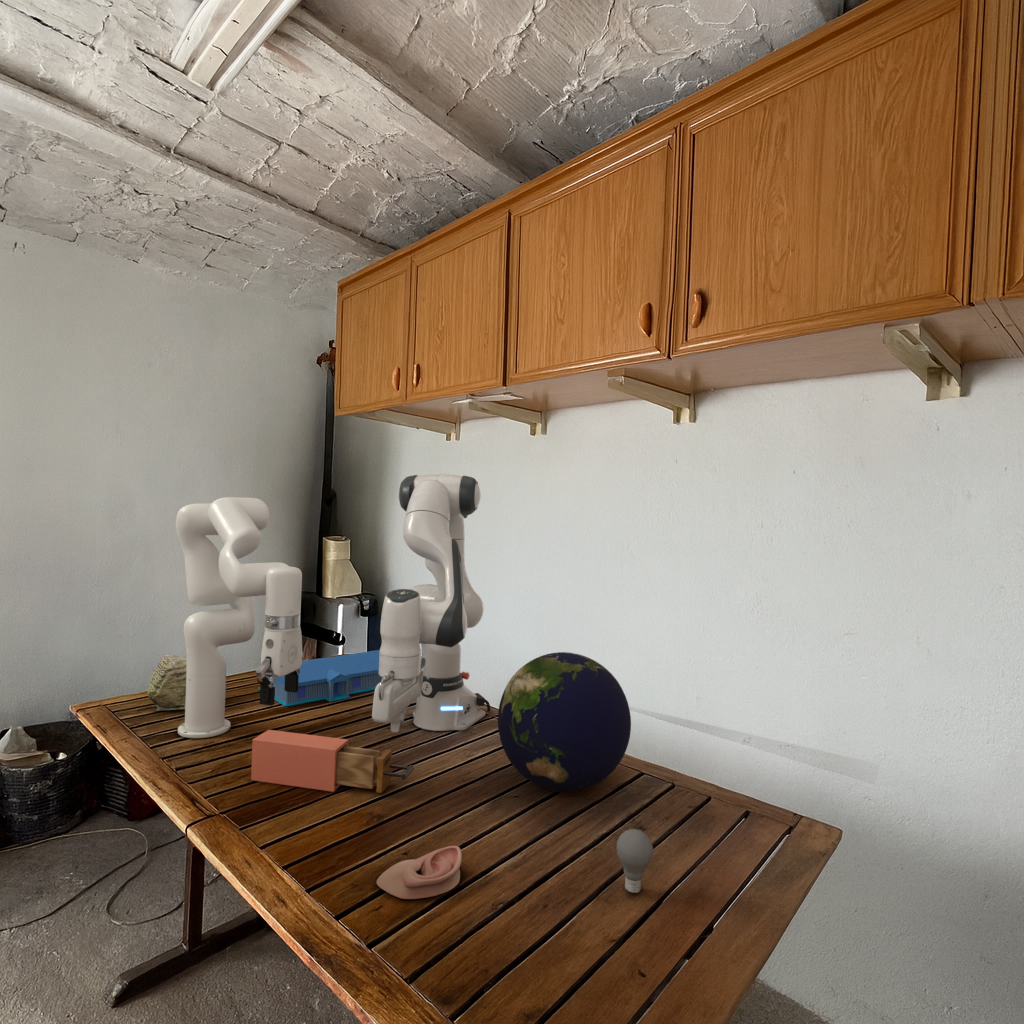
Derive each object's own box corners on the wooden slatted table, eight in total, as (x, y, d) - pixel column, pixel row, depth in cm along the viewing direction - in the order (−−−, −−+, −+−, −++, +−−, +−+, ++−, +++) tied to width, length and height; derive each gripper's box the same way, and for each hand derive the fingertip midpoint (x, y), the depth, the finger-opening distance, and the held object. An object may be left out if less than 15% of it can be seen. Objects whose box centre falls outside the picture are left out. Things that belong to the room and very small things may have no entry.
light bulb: (610, 879, 108) (613, 822, 108) (644, 879, 109) (647, 822, 109) (619, 902, 102) (622, 840, 102) (655, 901, 103) (658, 840, 103)
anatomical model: (369, 868, 102) (396, 832, 113) (368, 893, 102) (395, 854, 113) (448, 882, 99) (468, 844, 110) (447, 907, 99) (467, 866, 110)
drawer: (413, 785, 139) (415, 752, 139) (405, 796, 134) (406, 762, 134) (312, 772, 143) (313, 740, 143) (300, 781, 138) (302, 748, 138)
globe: (472, 799, 135) (478, 659, 135) (523, 750, 163) (528, 634, 162) (610, 832, 124) (617, 680, 124) (639, 773, 152) (645, 649, 151)
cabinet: (346, 779, 142) (348, 739, 142) (333, 791, 136) (335, 750, 136) (267, 768, 146) (268, 729, 146) (250, 780, 140) (252, 739, 140)
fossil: (144, 707, 182) (145, 655, 182) (212, 696, 194) (213, 647, 194) (151, 716, 175) (153, 662, 175) (221, 703, 188) (223, 653, 188)
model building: (289, 709, 186) (291, 675, 185) (258, 688, 204) (259, 657, 204) (403, 687, 212) (405, 657, 212) (366, 670, 230) (368, 643, 230)
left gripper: (276, 631, 133) (272, 712, 133) (317, 616, 149) (314, 688, 150) (243, 628, 134) (240, 708, 134) (288, 614, 151) (285, 685, 151)
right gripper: (395, 680, 126) (392, 749, 126) (428, 656, 146) (426, 716, 146) (365, 677, 127) (362, 745, 127) (402, 654, 147) (400, 713, 147)
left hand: (279, 697), depth 142 cm, fingers open, 9 cm apart
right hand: (397, 729), depth 137 cm, fingers closed
